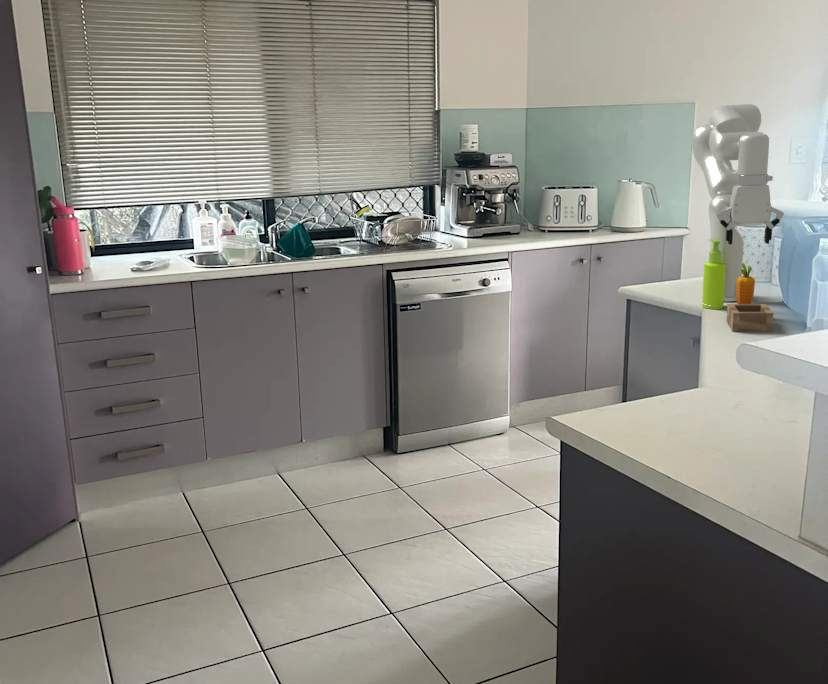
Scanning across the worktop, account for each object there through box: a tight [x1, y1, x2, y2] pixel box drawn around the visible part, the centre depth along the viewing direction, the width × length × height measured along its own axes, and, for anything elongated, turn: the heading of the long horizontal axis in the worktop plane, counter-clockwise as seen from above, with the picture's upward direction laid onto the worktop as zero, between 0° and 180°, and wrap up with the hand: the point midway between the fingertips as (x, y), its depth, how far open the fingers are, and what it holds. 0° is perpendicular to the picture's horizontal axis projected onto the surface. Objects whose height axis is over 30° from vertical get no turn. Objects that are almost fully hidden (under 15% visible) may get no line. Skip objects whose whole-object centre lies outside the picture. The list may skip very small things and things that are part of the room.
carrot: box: [736, 262, 756, 304], centre depth 235 cm, size 5×5×15 cm
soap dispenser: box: [701, 238, 725, 310], centre depth 246 cm, size 6×7×20 cm
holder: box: [726, 303, 774, 332], centre depth 227 cm, size 10×10×5 cm
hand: (748, 243), depth 231 cm, fingers open, 9 cm apart
